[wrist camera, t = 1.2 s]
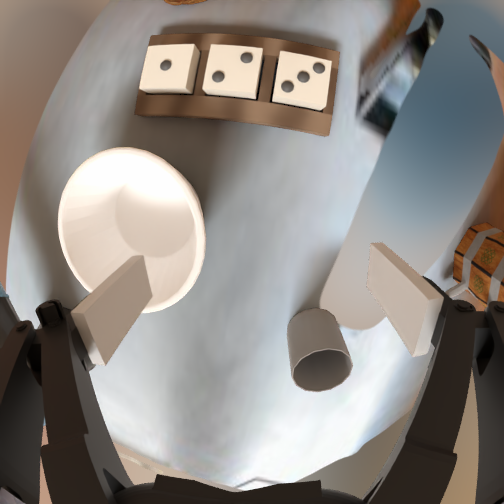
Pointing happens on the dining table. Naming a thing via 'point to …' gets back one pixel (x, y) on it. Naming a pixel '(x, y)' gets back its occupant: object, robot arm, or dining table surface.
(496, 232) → the mug
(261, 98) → the board
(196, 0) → the burger
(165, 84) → the tile one
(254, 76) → the tile two
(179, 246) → the bowl
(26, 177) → the dining table surface
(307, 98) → the tile three
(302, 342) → the cup
